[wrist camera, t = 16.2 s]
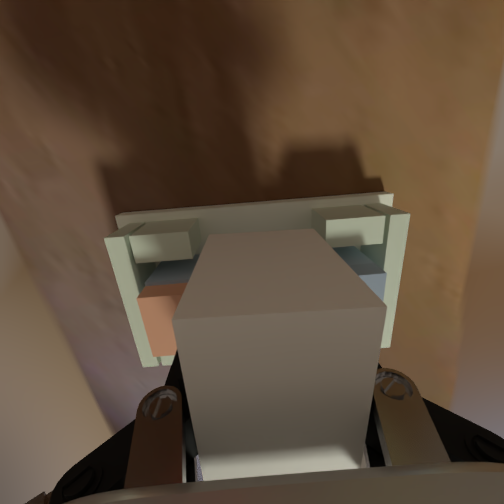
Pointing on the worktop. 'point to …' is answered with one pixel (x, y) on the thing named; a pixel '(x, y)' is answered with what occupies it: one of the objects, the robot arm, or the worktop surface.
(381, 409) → the robot arm
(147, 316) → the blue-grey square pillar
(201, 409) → the block
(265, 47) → the worktop surface
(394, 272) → the jig
